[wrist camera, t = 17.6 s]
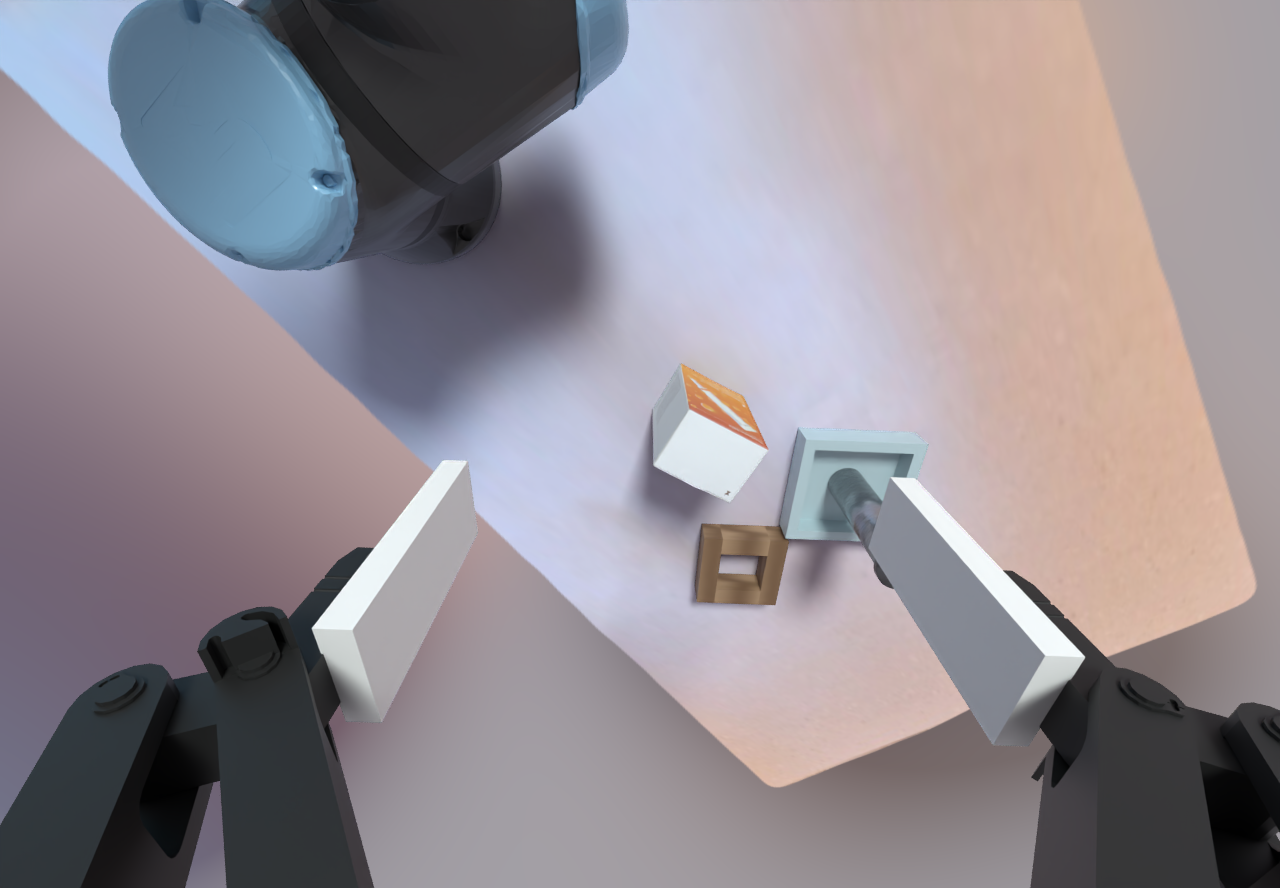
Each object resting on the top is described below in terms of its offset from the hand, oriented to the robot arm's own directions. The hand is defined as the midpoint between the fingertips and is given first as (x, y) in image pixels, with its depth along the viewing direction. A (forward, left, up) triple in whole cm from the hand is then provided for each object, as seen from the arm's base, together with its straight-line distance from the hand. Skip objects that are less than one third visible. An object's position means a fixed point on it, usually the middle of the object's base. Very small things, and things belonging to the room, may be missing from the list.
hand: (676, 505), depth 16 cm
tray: (+23, -20, -37) cm, 48 cm away
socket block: (+12, -32, -37) cm, 50 cm away
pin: (+23, -20, -36) cm, 47 cm away
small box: (+5, -11, -37) cm, 39 cm away
